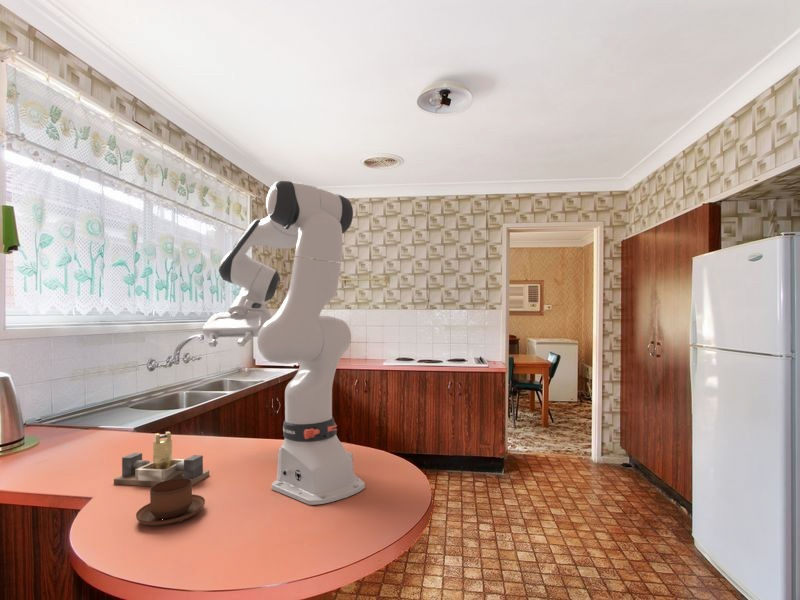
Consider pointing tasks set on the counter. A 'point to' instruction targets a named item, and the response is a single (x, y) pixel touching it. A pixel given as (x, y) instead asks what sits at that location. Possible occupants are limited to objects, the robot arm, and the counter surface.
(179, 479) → the cup and saucer
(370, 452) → the counter surface
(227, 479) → the counter surface
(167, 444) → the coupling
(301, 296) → the robot arm
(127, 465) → the shaft stand
